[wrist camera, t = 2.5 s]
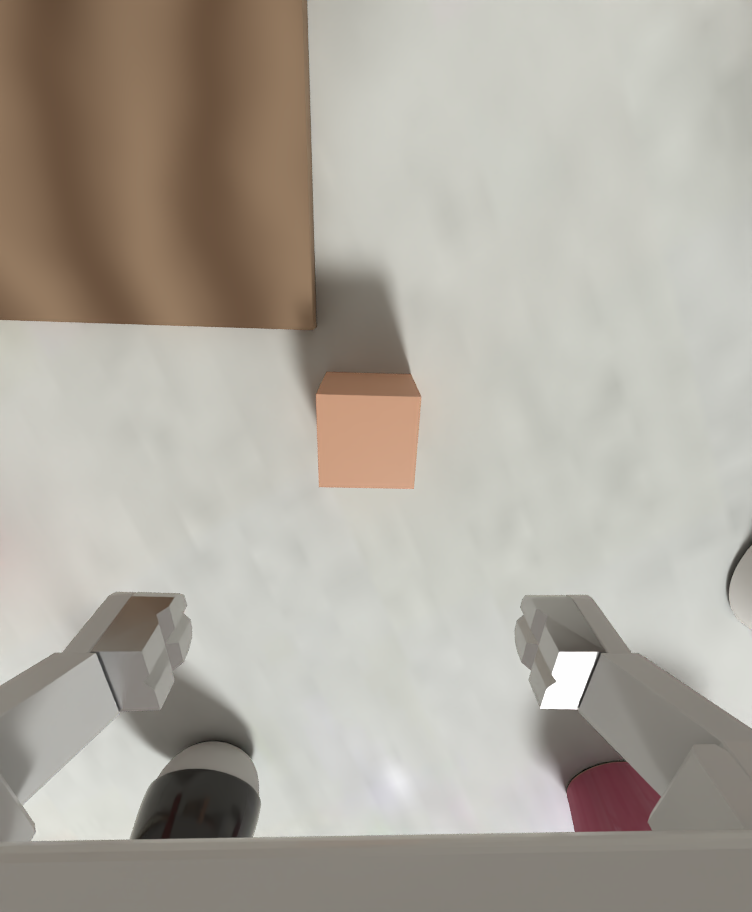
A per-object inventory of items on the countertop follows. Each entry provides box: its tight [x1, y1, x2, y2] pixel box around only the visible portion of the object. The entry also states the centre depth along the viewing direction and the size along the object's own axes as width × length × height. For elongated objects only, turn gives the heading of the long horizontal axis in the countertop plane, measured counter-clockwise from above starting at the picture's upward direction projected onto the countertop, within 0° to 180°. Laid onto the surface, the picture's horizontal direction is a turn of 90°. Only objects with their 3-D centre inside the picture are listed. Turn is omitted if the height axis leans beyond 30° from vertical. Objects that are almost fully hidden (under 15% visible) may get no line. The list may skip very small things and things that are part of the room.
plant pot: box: [567, 762, 661, 832], centre depth 36 cm, size 14×14×13 cm
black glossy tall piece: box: [130, 741, 261, 840], centre depth 31 cm, size 10×10×15 cm
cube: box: [316, 372, 421, 489], centre depth 22 cm, size 5×5×5 cm
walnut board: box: [0, 0, 317, 330], centre depth 17 cm, size 20×16×2 cm
